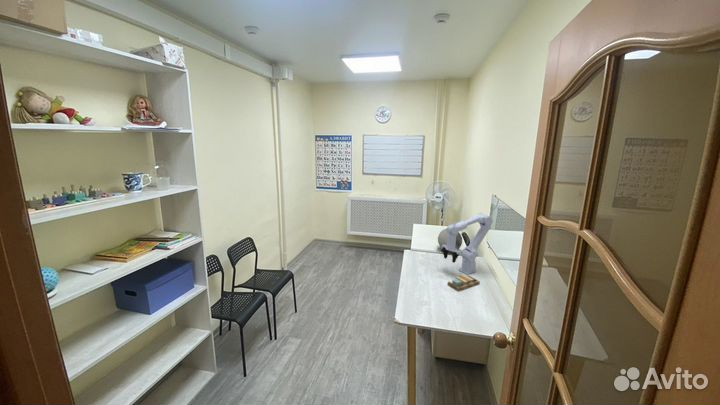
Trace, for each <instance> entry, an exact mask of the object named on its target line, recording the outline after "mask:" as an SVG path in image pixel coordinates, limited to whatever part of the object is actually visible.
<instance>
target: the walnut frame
mask: <svg viewBox="0 0 720 405" xmlns="http://www.w3.org/2000/svg"><path fill="white" fill-rule="evenodd" d="M467 276H468V277H470V278H472V279H474V281H473V282H472V283H469V284H464V283H463V282H462V283H461V286H460V287H458V286H456V285H454V284H452V282H451V281H448V282H447V286H449V287H450V288H452V289H453V290H456V291H457V292H461V291H463V290H467V289H469V288H472V287H476V286H478V285H480V283H481V282H480V280H479V279H477V278H474V277H472V276H470V275H467Z"/></svg>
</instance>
